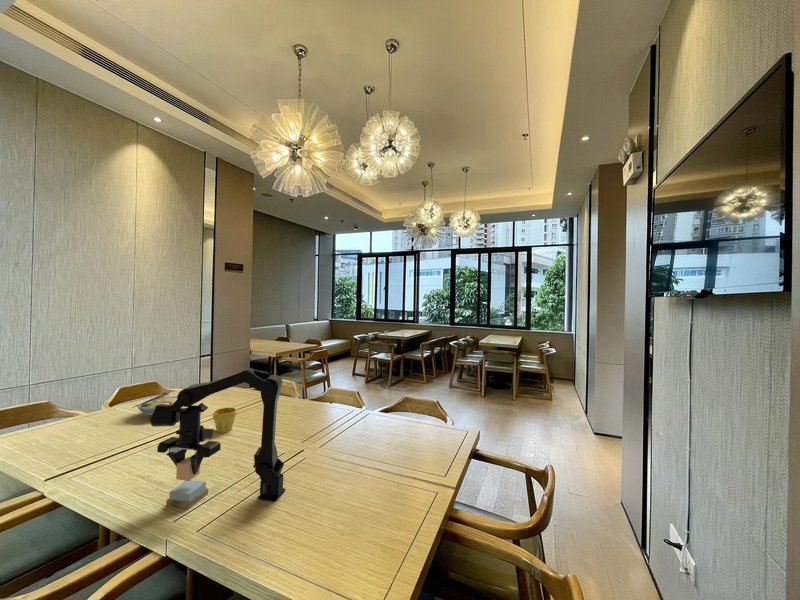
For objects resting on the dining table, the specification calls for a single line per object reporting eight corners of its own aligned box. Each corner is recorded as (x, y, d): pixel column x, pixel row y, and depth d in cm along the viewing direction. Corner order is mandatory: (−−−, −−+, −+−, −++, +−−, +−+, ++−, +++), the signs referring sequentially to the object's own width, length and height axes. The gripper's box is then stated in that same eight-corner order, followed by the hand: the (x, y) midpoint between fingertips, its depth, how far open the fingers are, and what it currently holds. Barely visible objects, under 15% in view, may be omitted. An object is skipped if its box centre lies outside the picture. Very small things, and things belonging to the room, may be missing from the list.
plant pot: (223, 435, 153) (224, 415, 153) (207, 432, 156) (208, 412, 156) (240, 428, 163) (241, 408, 163) (225, 425, 166) (225, 406, 166)
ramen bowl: (165, 423, 166) (166, 407, 166) (122, 421, 167) (122, 406, 167) (196, 407, 191) (197, 393, 191) (159, 406, 192) (159, 392, 192)
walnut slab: (207, 495, 107) (208, 488, 107) (188, 511, 99) (189, 503, 99) (186, 493, 109) (186, 485, 109) (166, 508, 101) (166, 500, 101)
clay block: (199, 473, 106) (200, 458, 106) (188, 480, 101) (189, 465, 101) (187, 472, 107) (188, 457, 107) (176, 479, 102) (176, 463, 102)
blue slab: (205, 489, 107) (205, 481, 107) (189, 502, 100) (189, 493, 100) (186, 487, 108) (186, 479, 108) (169, 499, 101) (169, 491, 101)
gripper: (232, 418, 111) (231, 463, 111) (185, 414, 114) (183, 458, 113) (208, 431, 100) (206, 481, 100) (156, 426, 103) (155, 475, 102)
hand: (188, 473), depth 104 cm, fingers closed on clay block, 4 cm apart
